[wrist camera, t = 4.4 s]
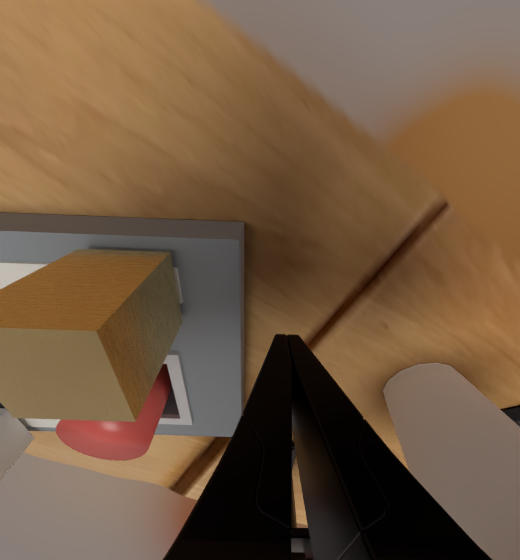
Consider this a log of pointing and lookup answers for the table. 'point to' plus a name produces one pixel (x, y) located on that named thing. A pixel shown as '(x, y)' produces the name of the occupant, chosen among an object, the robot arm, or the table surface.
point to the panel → (191, 294)
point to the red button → (119, 428)
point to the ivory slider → (11, 440)
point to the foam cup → (460, 452)
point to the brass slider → (87, 335)
